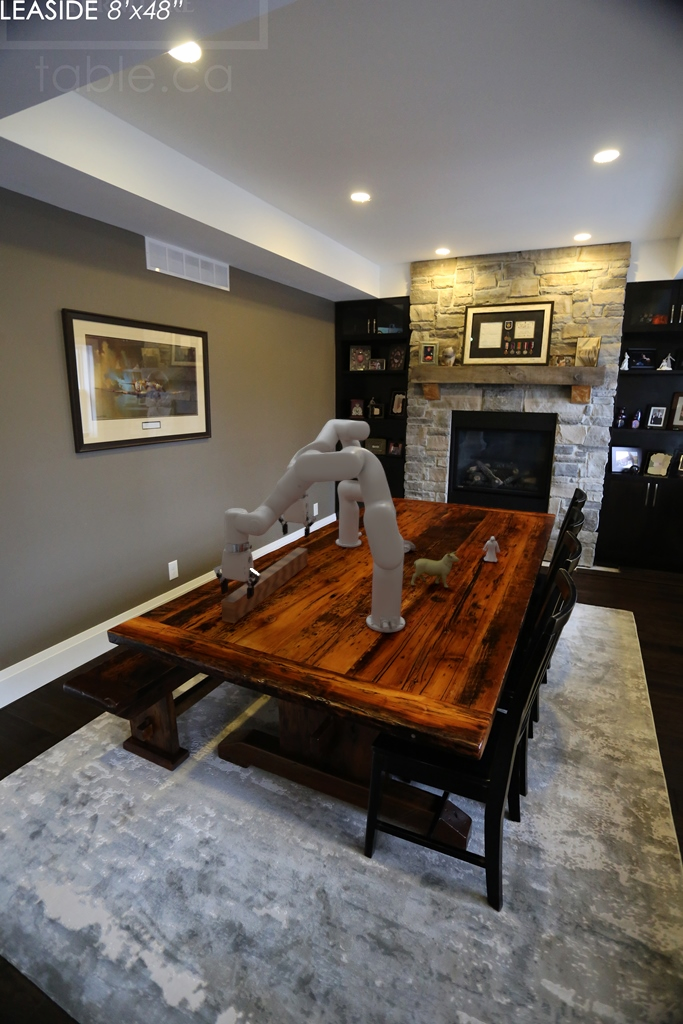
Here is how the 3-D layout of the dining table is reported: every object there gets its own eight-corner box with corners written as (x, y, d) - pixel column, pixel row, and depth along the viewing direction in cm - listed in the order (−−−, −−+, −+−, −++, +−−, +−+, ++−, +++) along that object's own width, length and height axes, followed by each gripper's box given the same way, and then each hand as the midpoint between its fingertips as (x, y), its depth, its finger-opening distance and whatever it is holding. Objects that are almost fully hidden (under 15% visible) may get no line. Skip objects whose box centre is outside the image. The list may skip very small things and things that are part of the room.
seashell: (403, 559, 235) (392, 546, 235) (408, 552, 239) (398, 539, 238) (414, 554, 229) (403, 541, 228) (419, 547, 233) (409, 534, 232)
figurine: (481, 562, 222) (483, 536, 219) (482, 556, 230) (484, 531, 227) (499, 564, 220) (501, 538, 217) (499, 558, 228) (501, 533, 225)
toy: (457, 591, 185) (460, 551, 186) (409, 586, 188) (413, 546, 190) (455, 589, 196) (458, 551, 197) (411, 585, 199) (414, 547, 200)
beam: (234, 623, 161) (233, 602, 159) (222, 621, 163) (221, 600, 161) (307, 564, 215) (307, 548, 214) (297, 563, 217) (297, 547, 215)
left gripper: (319, 495, 203) (318, 535, 207) (280, 491, 208) (281, 530, 212) (312, 498, 196) (311, 540, 200) (272, 494, 201) (273, 535, 206)
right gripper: (266, 546, 163) (265, 595, 167) (220, 539, 169) (221, 586, 173) (254, 553, 156) (254, 604, 160) (207, 545, 162) (208, 594, 166)
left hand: (296, 535), depth 206 cm, fingers open, 9 cm apart
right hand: (237, 595), depth 167 cm, fingers open, 9 cm apart
